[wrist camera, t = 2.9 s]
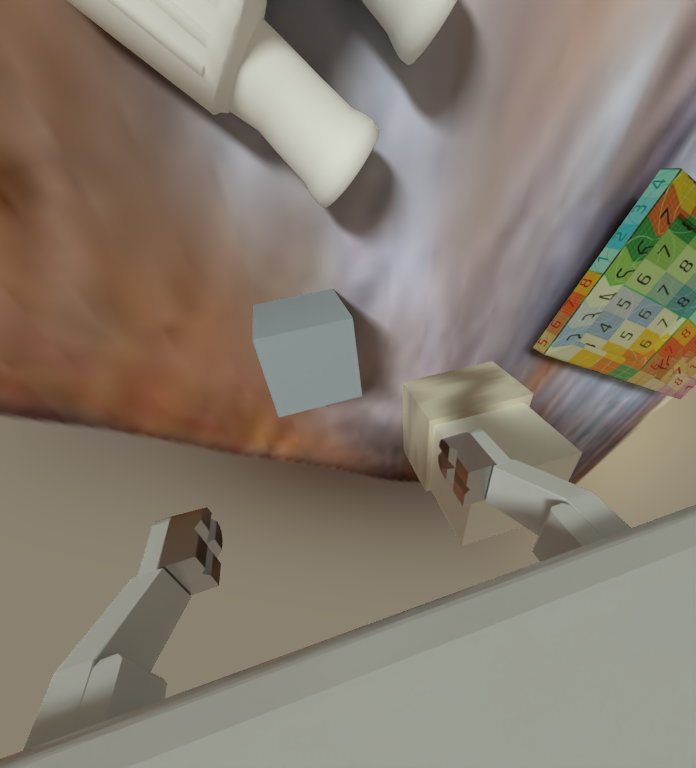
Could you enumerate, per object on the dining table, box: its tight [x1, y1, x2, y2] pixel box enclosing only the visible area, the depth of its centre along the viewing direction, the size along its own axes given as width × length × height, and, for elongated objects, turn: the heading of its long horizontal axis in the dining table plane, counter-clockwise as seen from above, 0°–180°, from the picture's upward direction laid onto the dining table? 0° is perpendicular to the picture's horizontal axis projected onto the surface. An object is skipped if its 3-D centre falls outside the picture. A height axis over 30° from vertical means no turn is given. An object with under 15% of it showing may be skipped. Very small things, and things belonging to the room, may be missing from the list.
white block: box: [429, 403, 582, 546], centre depth 22 cm, size 7×7×5 cm
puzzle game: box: [533, 168, 696, 399], centre depth 24 cm, size 12×5×20 cm
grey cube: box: [253, 289, 362, 417], centre depth 19 cm, size 5×5×5 cm
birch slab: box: [403, 361, 533, 491], centre depth 26 cm, size 8×8×5 cm
